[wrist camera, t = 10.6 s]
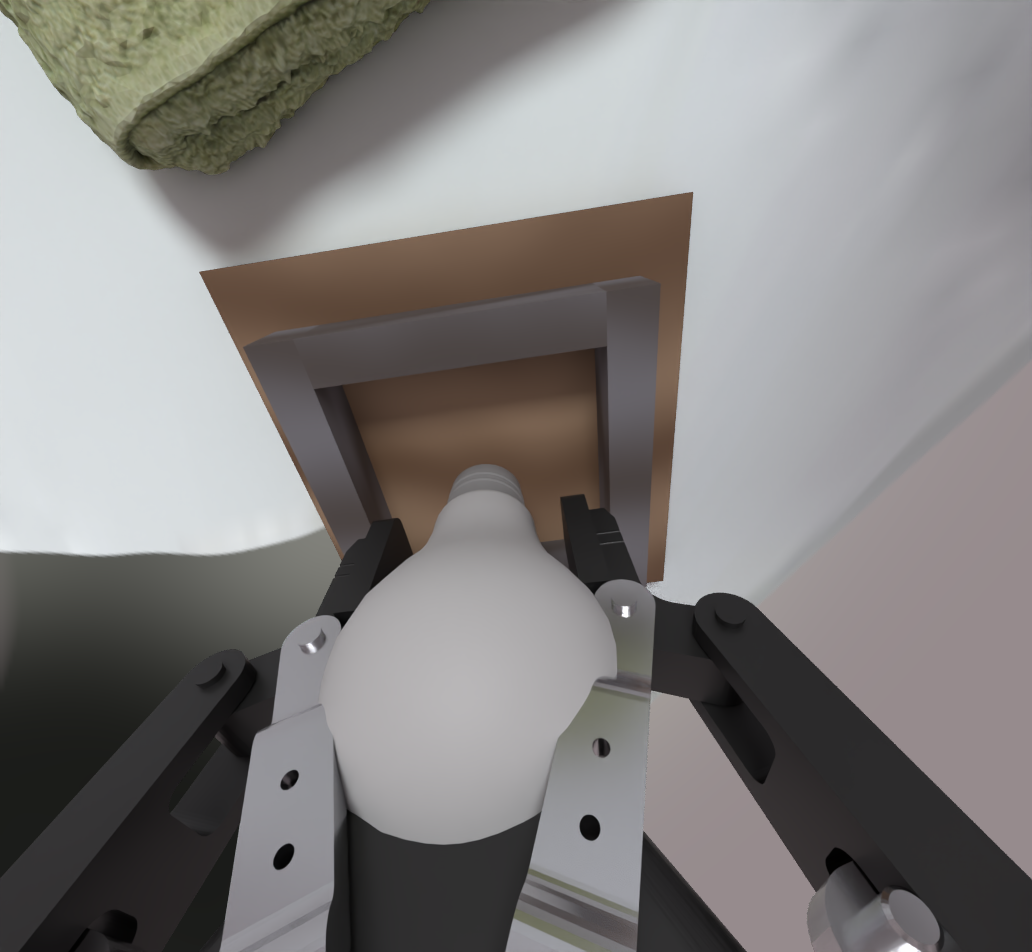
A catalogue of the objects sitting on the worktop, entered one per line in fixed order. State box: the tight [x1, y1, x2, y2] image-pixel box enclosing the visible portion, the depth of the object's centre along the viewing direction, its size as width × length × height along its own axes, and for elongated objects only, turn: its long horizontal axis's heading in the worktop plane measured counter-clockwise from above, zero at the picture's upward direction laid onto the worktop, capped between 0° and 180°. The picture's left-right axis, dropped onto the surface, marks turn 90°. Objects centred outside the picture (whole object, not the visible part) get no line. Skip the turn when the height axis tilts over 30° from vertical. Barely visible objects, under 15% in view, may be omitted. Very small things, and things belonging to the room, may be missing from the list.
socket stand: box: [199, 192, 693, 587], centre depth 16 cm, size 16×15×3 cm
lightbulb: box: [318, 464, 617, 845], centre depth 10 cm, size 6×6×11 cm
